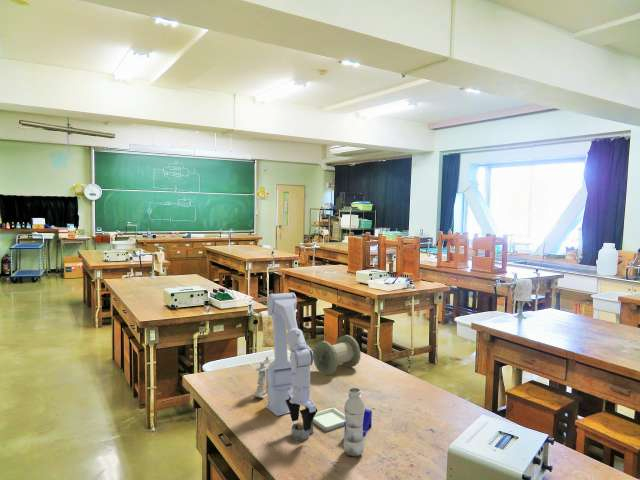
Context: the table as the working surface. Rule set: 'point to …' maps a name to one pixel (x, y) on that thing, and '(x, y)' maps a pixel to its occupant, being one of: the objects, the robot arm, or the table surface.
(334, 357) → the spool
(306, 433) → the grey octagonal ring
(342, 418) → the tray
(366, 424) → the cable clip
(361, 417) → the plastic bottle
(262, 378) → the white figurine
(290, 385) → the robot arm
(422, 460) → the table surface
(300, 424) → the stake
